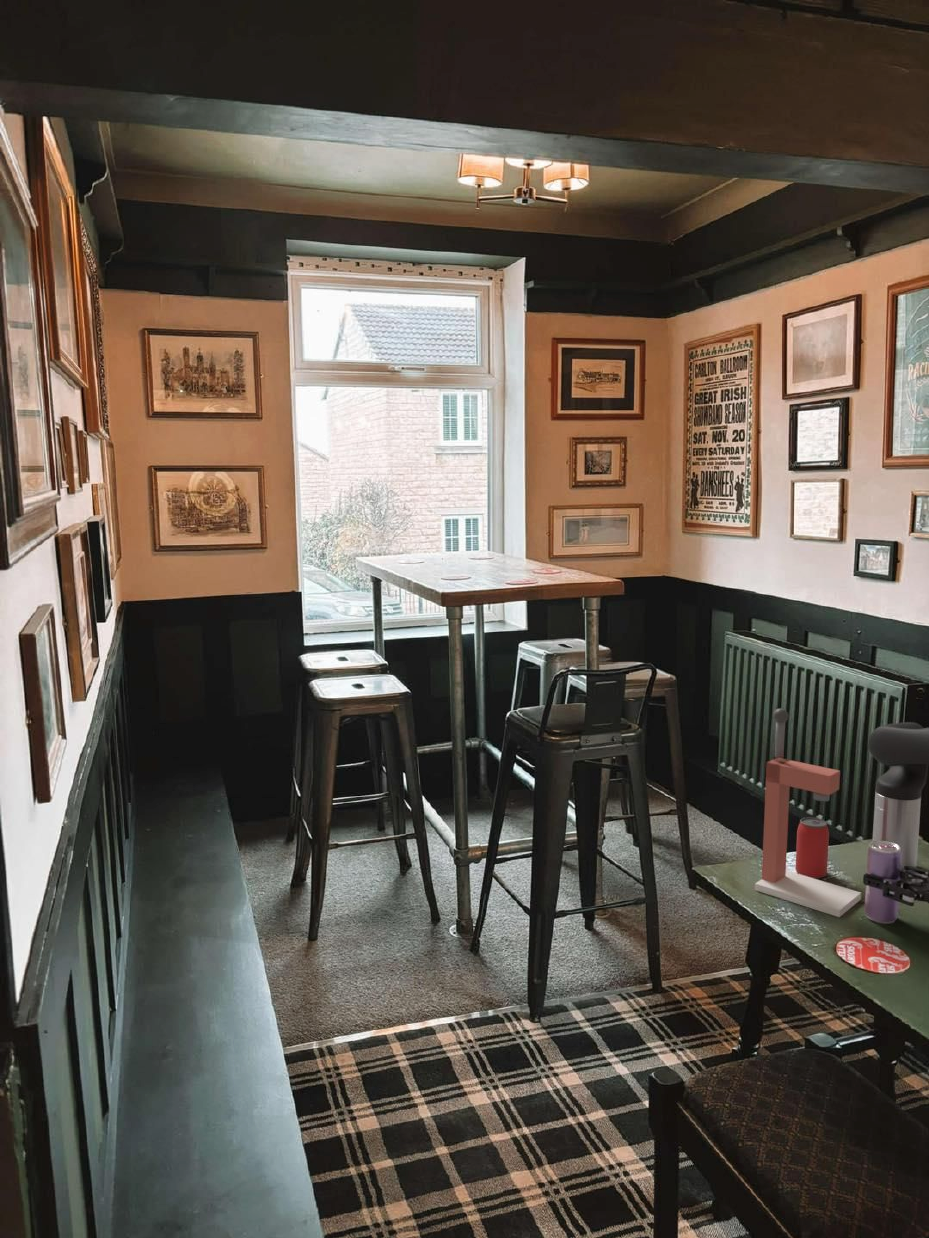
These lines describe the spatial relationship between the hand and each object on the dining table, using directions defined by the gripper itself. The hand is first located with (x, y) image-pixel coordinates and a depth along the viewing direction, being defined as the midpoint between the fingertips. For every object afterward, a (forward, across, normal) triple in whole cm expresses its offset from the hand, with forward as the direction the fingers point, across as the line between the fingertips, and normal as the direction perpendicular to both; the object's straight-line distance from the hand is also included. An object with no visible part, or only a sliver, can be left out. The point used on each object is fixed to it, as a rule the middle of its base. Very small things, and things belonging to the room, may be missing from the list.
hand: (870, 873), depth 181 cm
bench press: (+13, 0, +9) cm, 15 cm away
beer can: (+17, -11, +9) cm, 22 cm away
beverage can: (-2, 0, +9) cm, 9 cm away
